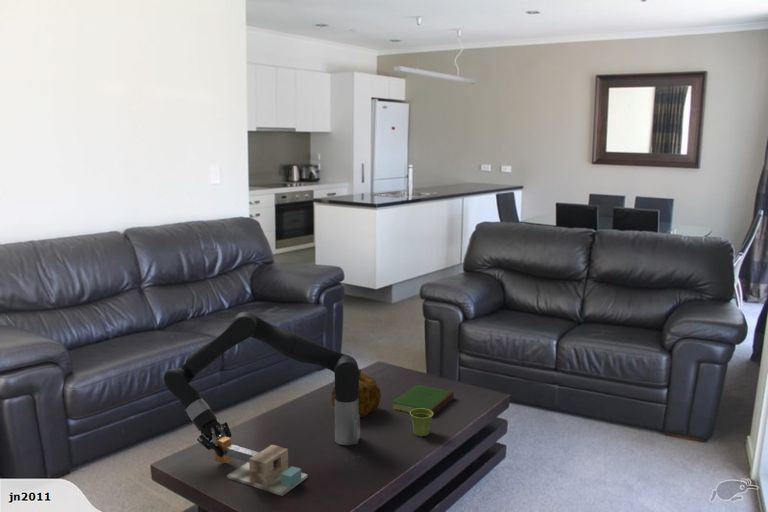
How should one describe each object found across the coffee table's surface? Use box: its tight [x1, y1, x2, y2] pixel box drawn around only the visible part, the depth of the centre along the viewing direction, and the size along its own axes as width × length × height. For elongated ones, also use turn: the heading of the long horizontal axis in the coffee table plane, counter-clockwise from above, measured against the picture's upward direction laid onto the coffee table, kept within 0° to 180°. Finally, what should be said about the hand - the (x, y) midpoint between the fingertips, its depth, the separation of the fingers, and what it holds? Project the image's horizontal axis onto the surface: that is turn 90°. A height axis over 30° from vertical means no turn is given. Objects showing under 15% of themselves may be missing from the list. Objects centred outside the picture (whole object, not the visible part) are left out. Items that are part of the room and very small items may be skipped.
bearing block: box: [249, 444, 289, 486], centre depth 219 cm, size 7×12×9 cm, turn 151°
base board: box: [226, 462, 309, 497], centre depth 220 cm, size 24×14×1 cm, turn 61°
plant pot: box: [409, 408, 434, 437], centre depth 254 cm, size 9×9×9 cm
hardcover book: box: [391, 384, 455, 416], centre depth 285 cm, size 25×19×4 cm
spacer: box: [281, 465, 302, 488], centre depth 214 cm, size 4×6×4 cm
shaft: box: [214, 435, 260, 464], centre depth 224 cm, size 23×4×8 cm, turn 61°
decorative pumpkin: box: [330, 368, 382, 418], centre depth 273 cm, size 20×21×20 cm
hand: (227, 453), depth 228 cm, fingers closed on shaft, 4 cm apart
